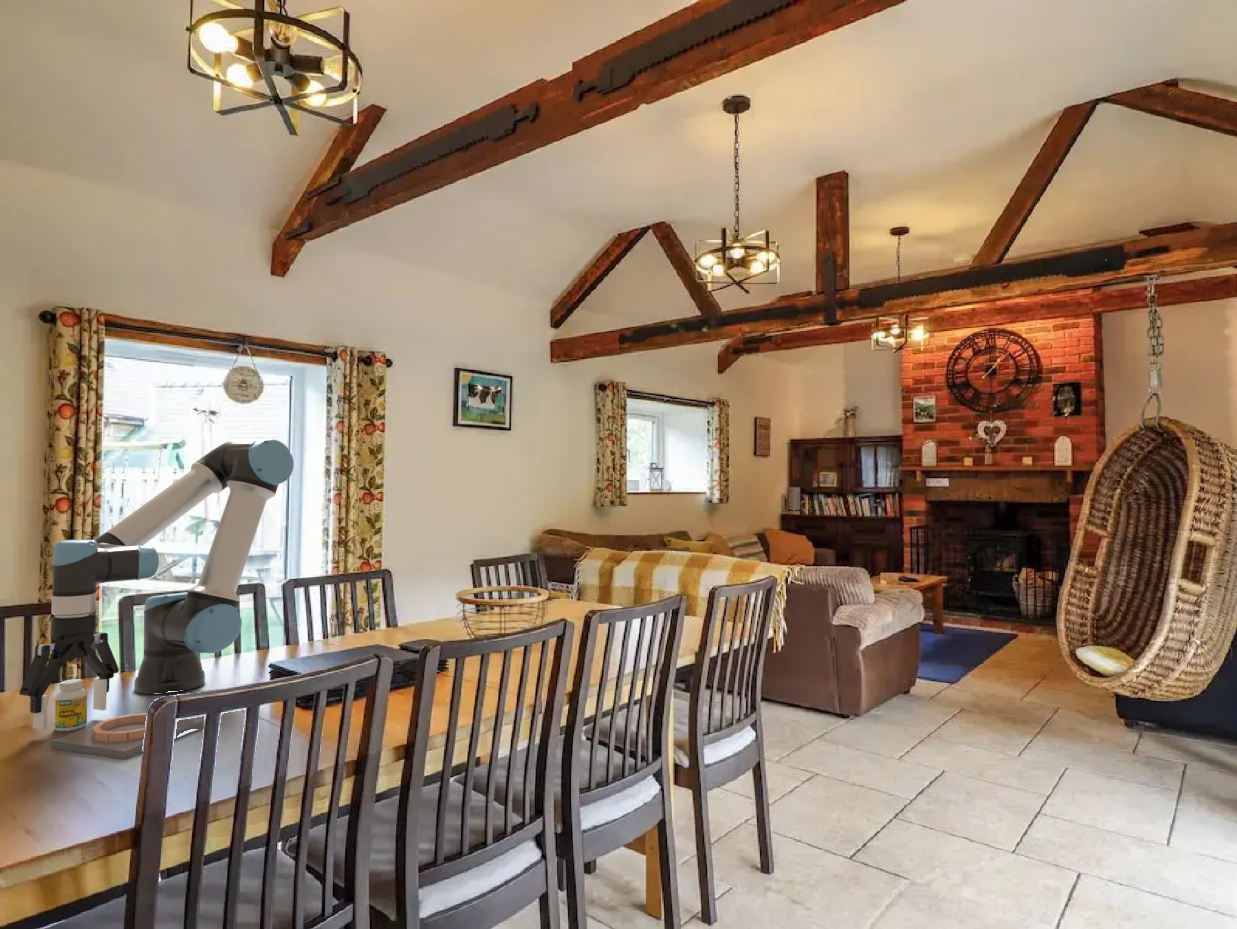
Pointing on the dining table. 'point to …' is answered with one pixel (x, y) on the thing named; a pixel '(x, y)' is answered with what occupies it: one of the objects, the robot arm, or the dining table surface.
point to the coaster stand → (115, 736)
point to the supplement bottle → (71, 706)
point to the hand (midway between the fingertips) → (70, 718)
